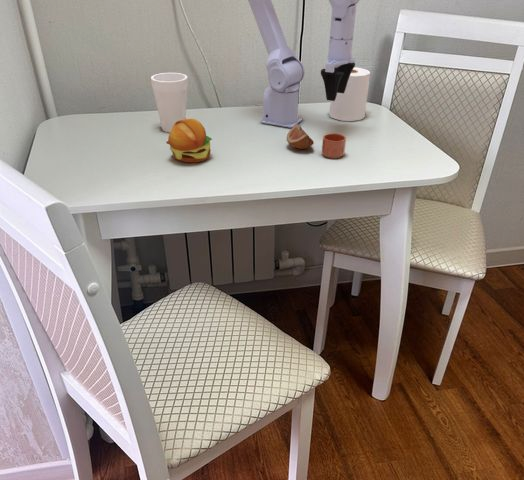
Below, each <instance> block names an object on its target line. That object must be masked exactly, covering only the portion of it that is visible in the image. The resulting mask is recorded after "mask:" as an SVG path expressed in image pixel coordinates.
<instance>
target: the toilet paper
mask: <svg viewBox="0 0 524 480" xmlns="http://www.w3.org/2000/svg"><path fill="white" fill-rule="evenodd" d="M370 79H371V71H369V70H368V69H366V68H363V67H357V66H355V67H354V68H353V70H352V72H351V74H350V77H349V79H348V83H347V86H346V89H345V92H344V93H337V96H336V99H335V101H330V100H329V101H330V103H329V116H330V118H332V119H334V120H336V121H343V122H355V121H361V120H363V119H364V118H366V117H365V116H366V110H367V109H366V108H367V102H368V93H369V87H370Z"/></svg>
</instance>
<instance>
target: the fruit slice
mask: <svg viewBox="0 0 524 480" xmlns="http://www.w3.org/2000/svg"><path fill="white" fill-rule="evenodd" d="M286 142H287V143H288V144H289V145H290V146H291V147H293V148H295V149H299V150H304V149H307V148H310V147H312V146H313V145H314V144H315V142H314V140H313V139H312V138H311V137H310V136H309V134H307V132H305V130H304V129H303V128H302V127H301V126H300V125H299V123H298V124H296V125H295V126H294V127H293V128H290V129H289V131H288V133H287V134H286Z"/></svg>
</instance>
